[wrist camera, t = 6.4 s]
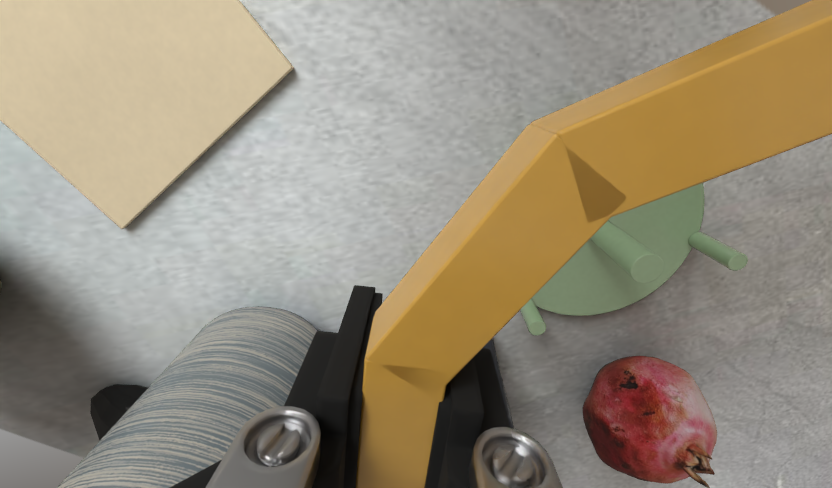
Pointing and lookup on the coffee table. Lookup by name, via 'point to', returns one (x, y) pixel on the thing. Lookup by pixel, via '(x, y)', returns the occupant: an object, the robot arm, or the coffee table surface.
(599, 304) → the holder
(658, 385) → the fruit
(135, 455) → the vase
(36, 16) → the mat
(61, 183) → the coffee table surface
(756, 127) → the ring
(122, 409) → the gaming mouse
